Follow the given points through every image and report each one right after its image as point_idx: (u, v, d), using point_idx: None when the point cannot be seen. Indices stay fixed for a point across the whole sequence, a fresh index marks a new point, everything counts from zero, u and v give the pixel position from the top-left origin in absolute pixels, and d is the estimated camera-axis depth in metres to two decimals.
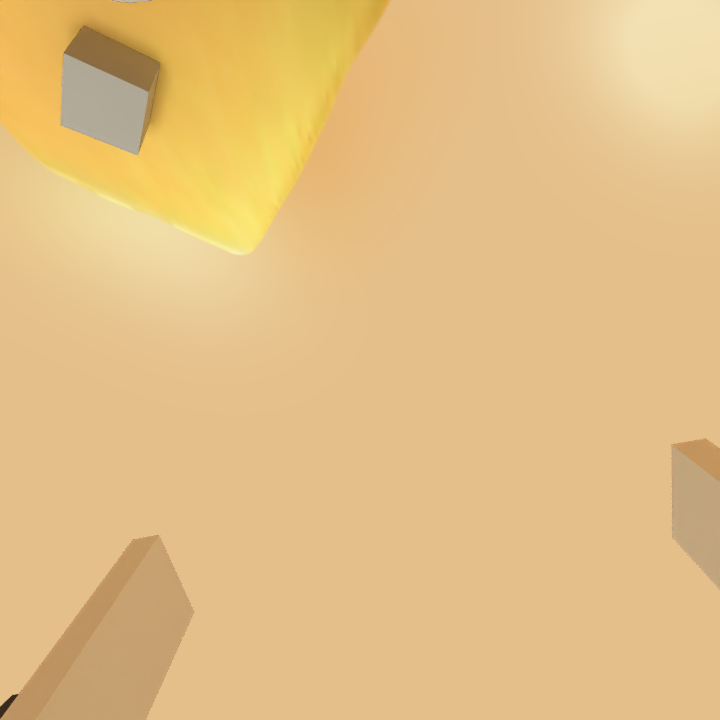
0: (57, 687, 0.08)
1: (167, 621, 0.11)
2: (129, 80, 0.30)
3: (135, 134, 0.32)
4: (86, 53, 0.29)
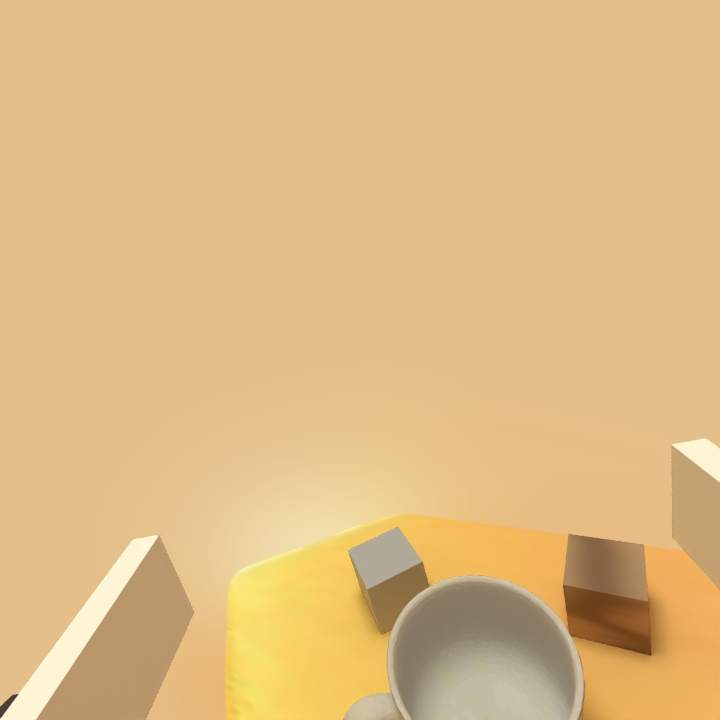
0: (57, 687, 0.08)
1: (167, 621, 0.11)
2: (382, 586, 0.35)
3: (357, 559, 0.38)
4: (415, 578, 0.36)
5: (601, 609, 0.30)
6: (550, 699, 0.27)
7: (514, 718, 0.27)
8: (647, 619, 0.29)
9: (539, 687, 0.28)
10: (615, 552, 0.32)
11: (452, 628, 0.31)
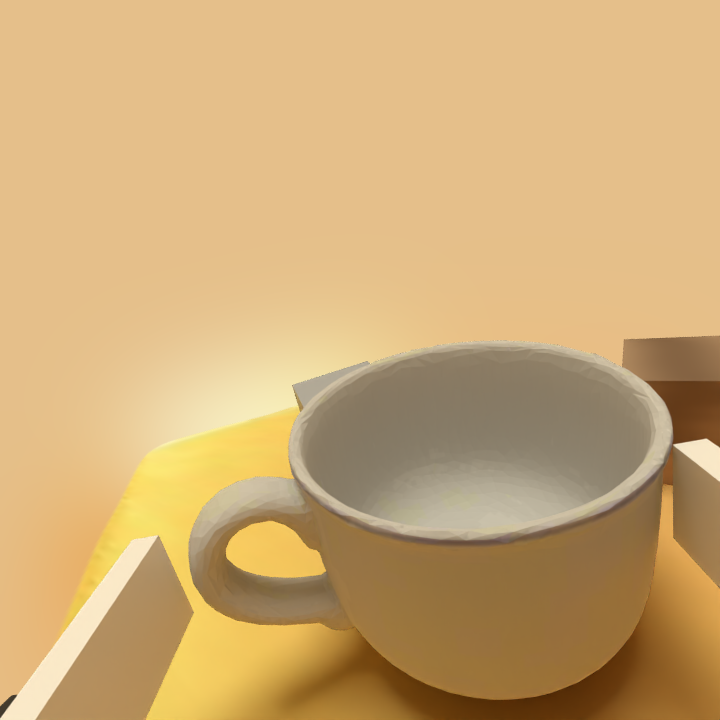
0: (56, 688, 0.08)
1: (166, 622, 0.11)
2: None
3: (302, 391, 0.26)
4: None
5: (687, 418, 0.18)
6: None
7: None
8: None
9: (554, 509, 0.17)
10: (707, 345, 0.20)
11: (412, 442, 0.19)
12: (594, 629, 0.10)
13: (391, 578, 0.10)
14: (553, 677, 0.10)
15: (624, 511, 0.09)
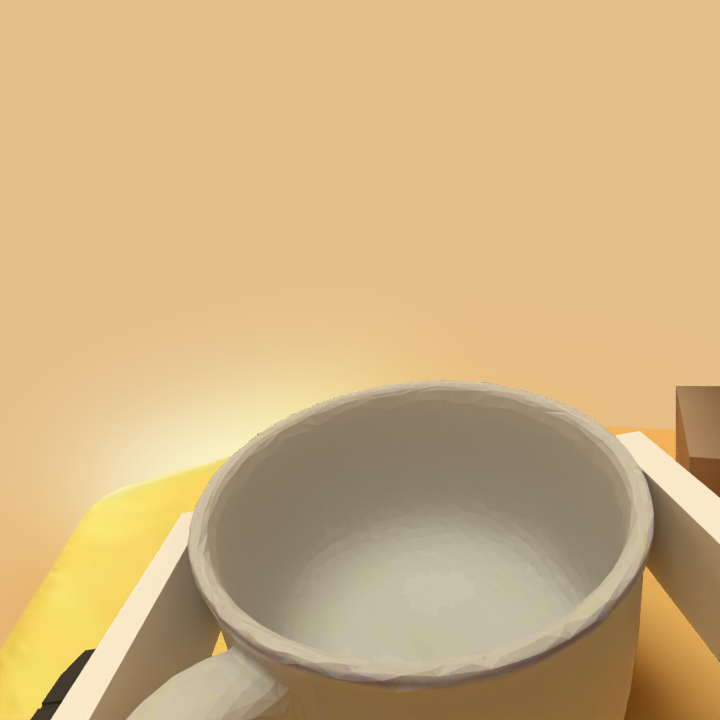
0: (134, 638, 0.08)
1: None
2: None
3: None
4: None
5: None
6: (492, 551, 0.16)
7: (459, 613, 0.14)
8: None
9: (468, 548, 0.16)
10: None
11: (306, 527, 0.16)
12: (632, 669, 0.09)
13: None
14: None
15: None
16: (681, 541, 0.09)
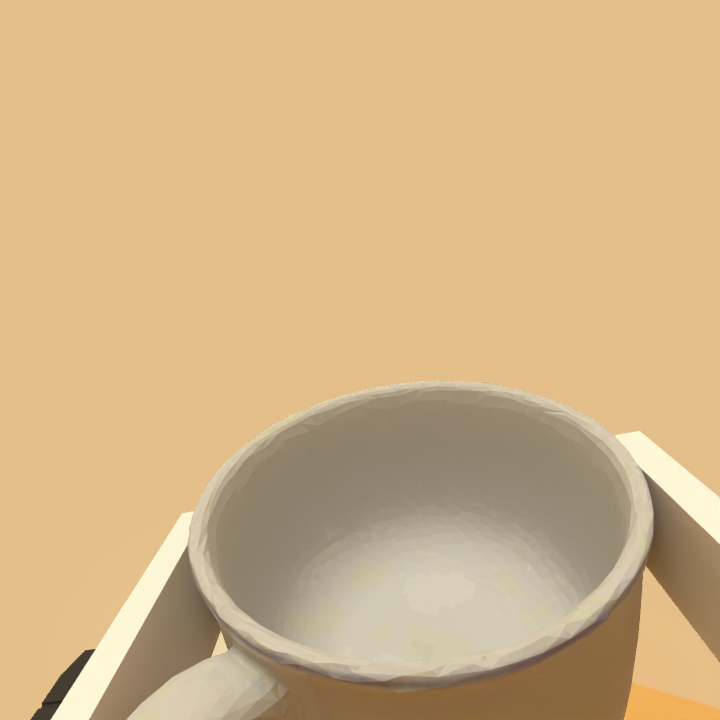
0: (134, 638, 0.08)
1: None
2: None
3: None
4: None
5: None
6: (492, 552, 0.16)
7: (459, 613, 0.14)
8: None
9: (468, 548, 0.16)
10: None
11: (306, 527, 0.16)
12: None
13: None
14: None
15: None
16: (681, 540, 0.09)
